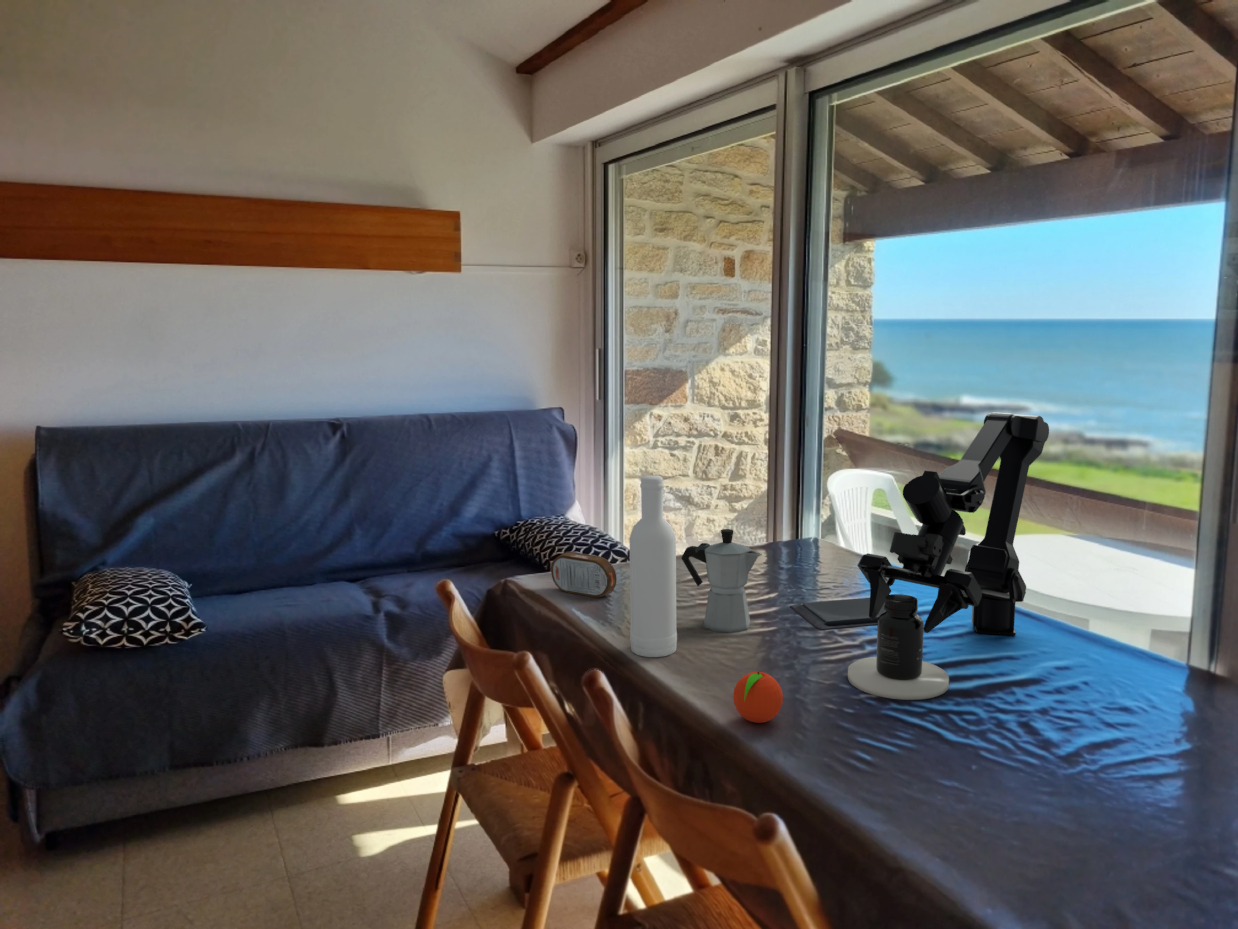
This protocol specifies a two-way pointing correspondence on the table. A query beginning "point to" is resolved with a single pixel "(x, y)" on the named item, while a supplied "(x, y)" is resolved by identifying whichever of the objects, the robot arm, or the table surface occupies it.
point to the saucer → (898, 681)
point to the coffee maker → (724, 581)
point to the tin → (583, 574)
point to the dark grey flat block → (838, 614)
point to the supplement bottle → (900, 639)
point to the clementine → (758, 697)
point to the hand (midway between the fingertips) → (897, 624)
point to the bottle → (653, 576)
